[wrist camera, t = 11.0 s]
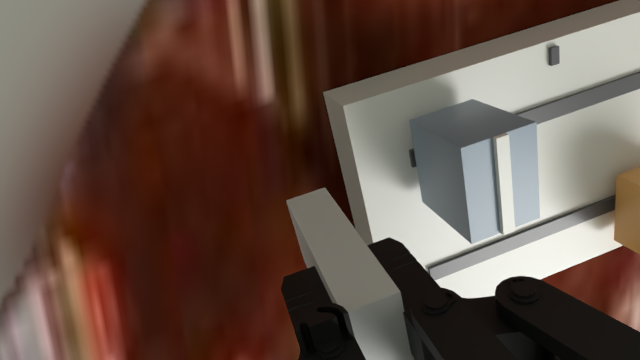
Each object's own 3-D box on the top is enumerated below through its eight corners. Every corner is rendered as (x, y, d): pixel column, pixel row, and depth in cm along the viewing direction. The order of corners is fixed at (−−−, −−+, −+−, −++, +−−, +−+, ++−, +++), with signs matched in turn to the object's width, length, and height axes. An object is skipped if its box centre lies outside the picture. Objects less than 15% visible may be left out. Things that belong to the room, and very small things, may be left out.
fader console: (373, 304, 27) (396, 341, 24) (322, 92, 22) (344, 107, 19) (642, 199, 30) (690, 220, 27) (657, -12, 25) (719, -13, 22)
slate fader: (422, 201, 21) (474, 246, 17) (409, 119, 20) (463, 149, 16) (480, 180, 22) (543, 220, 18) (472, 98, 20) (540, 123, 16)
